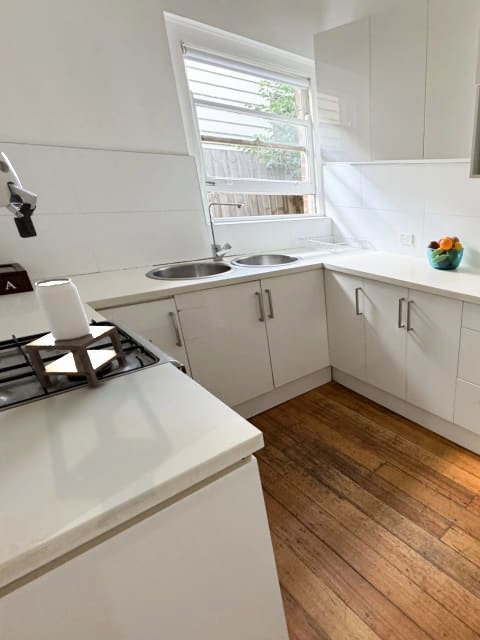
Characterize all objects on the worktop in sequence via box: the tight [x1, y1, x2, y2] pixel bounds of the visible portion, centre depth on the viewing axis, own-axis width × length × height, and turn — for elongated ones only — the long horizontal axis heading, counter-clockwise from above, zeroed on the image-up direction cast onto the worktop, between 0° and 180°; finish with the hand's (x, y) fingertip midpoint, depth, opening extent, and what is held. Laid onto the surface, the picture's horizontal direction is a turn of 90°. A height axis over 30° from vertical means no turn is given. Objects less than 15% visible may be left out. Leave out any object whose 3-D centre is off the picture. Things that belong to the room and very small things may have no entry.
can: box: [34, 277, 91, 340], centre depth 81 cm, size 6×6×12 cm
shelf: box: [24, 325, 128, 388], centre depth 85 cm, size 11×11×10 cm
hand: (4, 236), depth 78 cm, fingers open, 9 cm apart
